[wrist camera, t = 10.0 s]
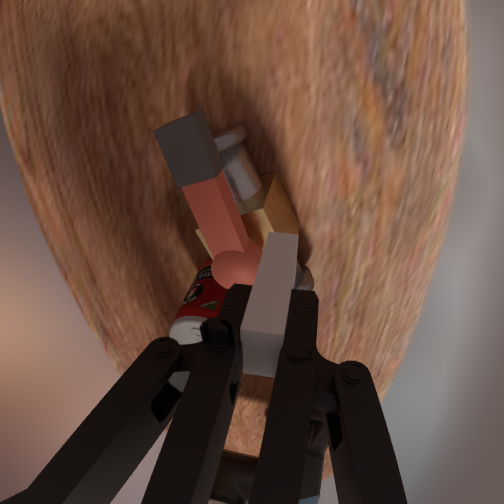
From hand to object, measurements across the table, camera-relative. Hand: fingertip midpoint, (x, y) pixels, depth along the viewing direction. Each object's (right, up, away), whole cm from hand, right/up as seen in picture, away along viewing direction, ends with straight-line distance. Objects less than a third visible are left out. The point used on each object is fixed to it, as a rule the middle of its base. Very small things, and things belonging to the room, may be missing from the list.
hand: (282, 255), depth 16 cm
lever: (-4, +4, +7) cm, 9 cm away
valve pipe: (-1, +5, +17) cm, 18 cm away
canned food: (-4, -3, +24) cm, 25 cm away
